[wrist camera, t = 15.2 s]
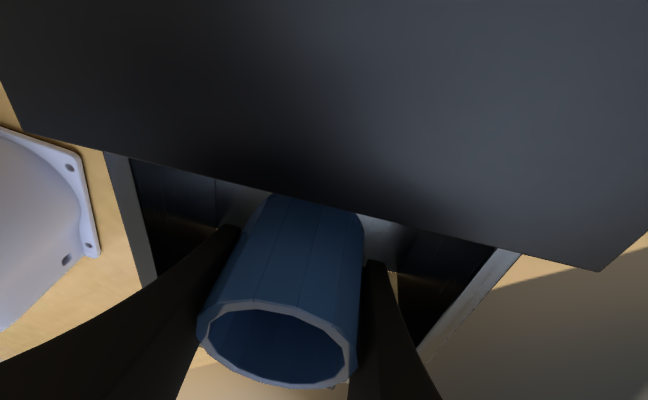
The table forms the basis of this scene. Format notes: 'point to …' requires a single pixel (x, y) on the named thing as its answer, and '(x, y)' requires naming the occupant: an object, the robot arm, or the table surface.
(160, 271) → the dish drawer
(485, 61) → the black drawer unit
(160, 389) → the robot arm
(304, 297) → the cup
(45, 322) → the table surface
